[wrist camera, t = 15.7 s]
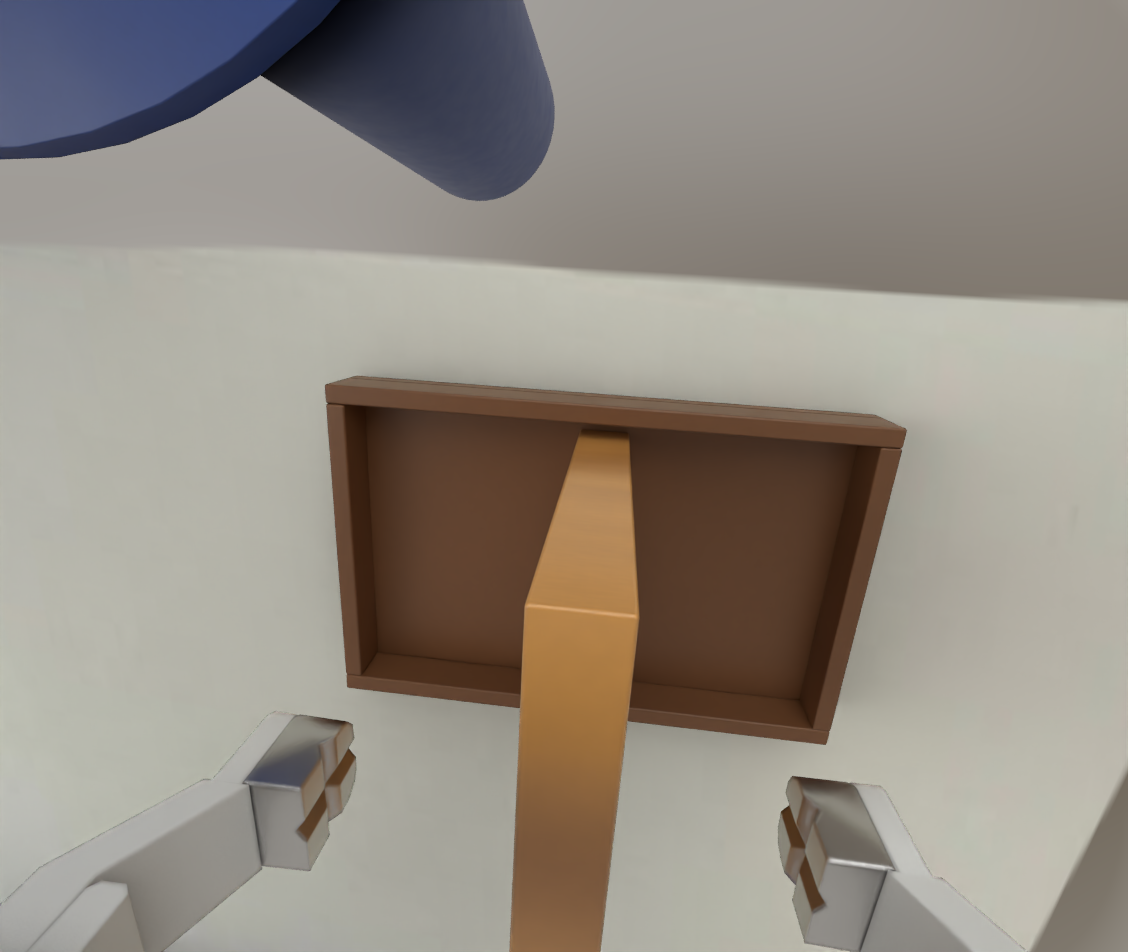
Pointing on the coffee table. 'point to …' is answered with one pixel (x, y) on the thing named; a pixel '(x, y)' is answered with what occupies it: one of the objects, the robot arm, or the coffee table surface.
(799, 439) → the tray
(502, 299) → the coffee table surface
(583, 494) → the toast
